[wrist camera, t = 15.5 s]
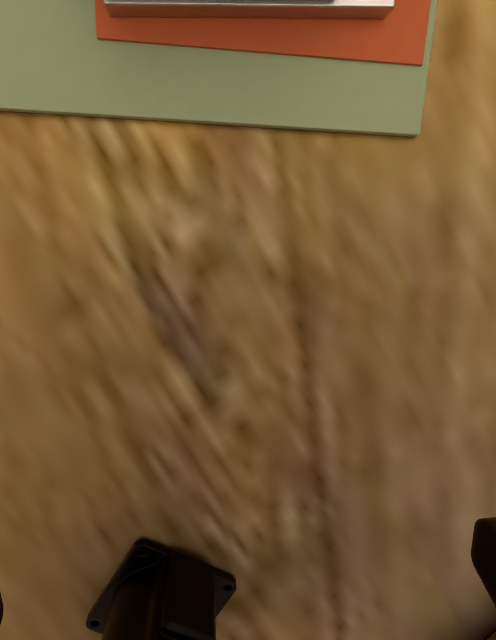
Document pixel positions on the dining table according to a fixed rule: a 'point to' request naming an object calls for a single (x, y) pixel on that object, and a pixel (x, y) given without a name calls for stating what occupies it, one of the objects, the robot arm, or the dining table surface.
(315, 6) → the iron
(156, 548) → the robot arm
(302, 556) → the dining table surface
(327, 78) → the ironing mat
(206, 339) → the dining table surface
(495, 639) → the ceramic jug
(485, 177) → the dining table surface
